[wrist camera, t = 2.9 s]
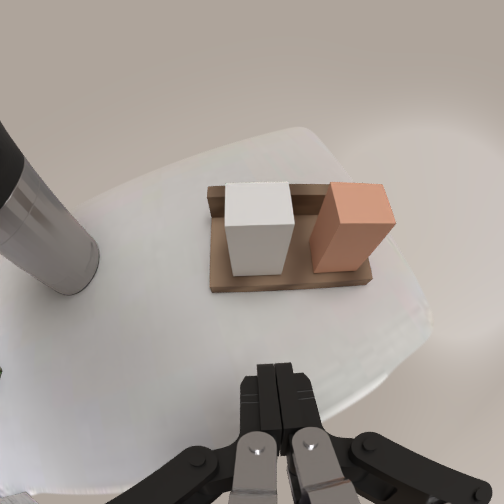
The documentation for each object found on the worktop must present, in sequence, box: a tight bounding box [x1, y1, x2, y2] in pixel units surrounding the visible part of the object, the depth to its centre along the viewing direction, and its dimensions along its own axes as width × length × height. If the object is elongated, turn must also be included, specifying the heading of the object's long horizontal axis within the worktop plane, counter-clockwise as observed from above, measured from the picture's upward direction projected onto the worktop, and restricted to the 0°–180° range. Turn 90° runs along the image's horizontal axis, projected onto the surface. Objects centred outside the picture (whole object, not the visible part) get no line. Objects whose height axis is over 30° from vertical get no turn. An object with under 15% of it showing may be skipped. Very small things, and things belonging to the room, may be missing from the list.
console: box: [207, 184, 373, 293], centre depth 29 cm, size 18×10×6 cm, turn 92°
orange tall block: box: [309, 182, 396, 273], centre depth 25 cm, size 5×4×10 cm
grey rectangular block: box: [225, 182, 295, 276], centre depth 25 cm, size 5×4×10 cm
